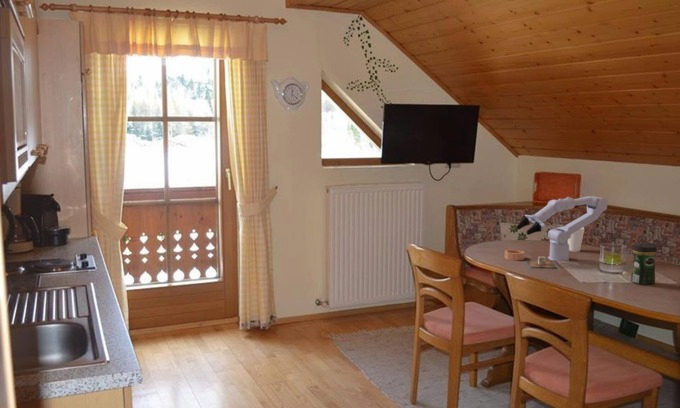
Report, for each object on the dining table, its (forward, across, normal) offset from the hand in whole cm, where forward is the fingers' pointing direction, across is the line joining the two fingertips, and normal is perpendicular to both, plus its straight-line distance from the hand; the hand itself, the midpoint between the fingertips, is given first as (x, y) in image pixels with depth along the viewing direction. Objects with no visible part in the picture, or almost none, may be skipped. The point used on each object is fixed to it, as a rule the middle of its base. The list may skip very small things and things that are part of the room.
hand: (522, 230), depth 324 cm
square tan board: (+5, +15, +13) cm, 20 cm away
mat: (+5, +15, +13) cm, 20 cm away
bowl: (+9, -3, +15) cm, 18 cm away
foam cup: (-28, -8, +41) cm, 51 cm away
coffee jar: (-17, +56, +19) cm, 62 cm away
